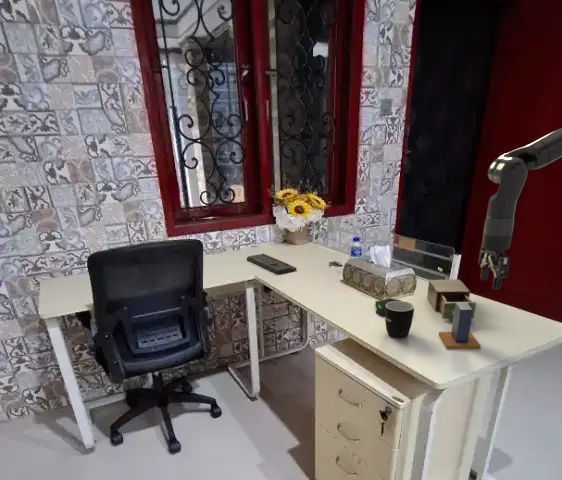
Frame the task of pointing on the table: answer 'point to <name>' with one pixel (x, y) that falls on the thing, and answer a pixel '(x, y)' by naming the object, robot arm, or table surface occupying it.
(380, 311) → the black electronic device
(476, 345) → the cork pad
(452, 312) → the drawer
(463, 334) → the card box
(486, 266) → the robot arm
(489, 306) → the table surface
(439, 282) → the cabinet
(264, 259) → the keyboard
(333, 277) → the table surface
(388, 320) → the mug
